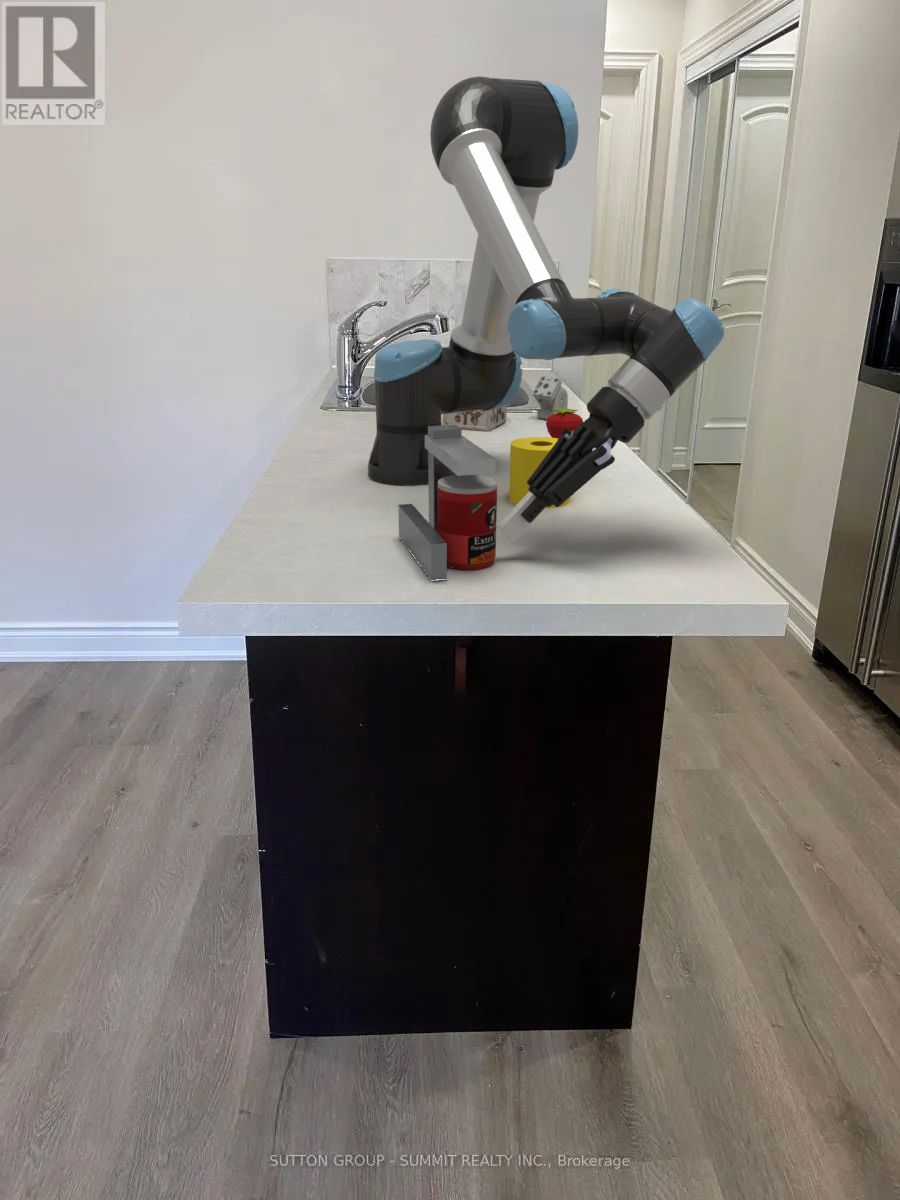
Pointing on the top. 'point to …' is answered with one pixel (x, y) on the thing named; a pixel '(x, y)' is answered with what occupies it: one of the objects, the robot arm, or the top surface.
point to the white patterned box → (477, 419)
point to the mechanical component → (550, 396)
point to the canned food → (468, 520)
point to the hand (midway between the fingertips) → (504, 534)
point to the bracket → (444, 459)
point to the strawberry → (562, 421)
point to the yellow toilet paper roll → (527, 464)
